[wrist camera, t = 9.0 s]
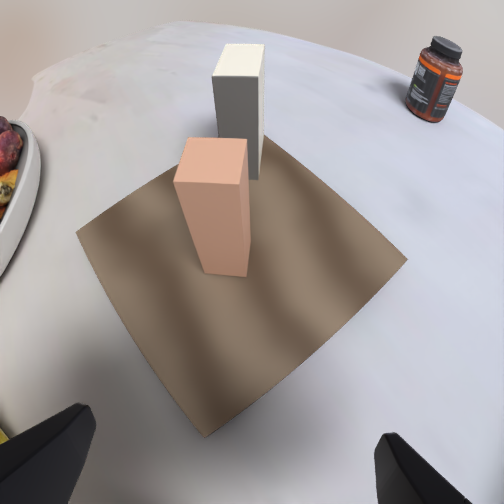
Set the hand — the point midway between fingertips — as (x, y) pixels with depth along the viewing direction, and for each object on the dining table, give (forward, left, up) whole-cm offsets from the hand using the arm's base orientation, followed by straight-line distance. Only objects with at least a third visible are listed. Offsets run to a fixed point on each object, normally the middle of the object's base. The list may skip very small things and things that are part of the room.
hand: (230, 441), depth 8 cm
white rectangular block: (+14, +17, -11) cm, 25 cm away
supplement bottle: (+40, +12, -13) cm, 44 cm away
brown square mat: (+7, +11, -13) cm, 18 cm away
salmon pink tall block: (+6, +10, -11) cm, 16 cm away
